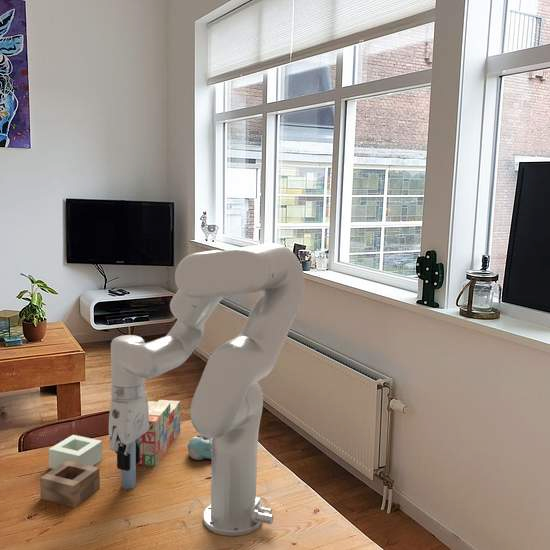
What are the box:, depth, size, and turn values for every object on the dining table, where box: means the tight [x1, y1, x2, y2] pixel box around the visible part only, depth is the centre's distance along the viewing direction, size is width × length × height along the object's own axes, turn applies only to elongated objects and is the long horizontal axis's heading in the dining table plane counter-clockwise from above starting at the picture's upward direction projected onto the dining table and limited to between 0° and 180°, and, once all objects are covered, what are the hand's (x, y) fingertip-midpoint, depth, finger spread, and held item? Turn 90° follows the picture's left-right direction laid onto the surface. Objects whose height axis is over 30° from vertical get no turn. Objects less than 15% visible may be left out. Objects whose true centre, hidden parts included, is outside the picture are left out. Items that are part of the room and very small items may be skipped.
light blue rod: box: [121, 440, 137, 490], centre depth 138 cm, size 3×3×16 cm
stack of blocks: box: [136, 399, 181, 467], centre depth 159 cm, size 21×6×12 cm, turn 172°
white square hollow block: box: [48, 434, 104, 470], centre depth 148 cm, size 9×9×5 cm
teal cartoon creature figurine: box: [187, 434, 212, 461], centre depth 156 cm, size 11×7×12 cm
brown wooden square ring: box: [39, 460, 101, 508], centre depth 135 cm, size 9×9×5 cm
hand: (128, 464), depth 138 cm, fingers closed on light blue rod, 3 cm apart
